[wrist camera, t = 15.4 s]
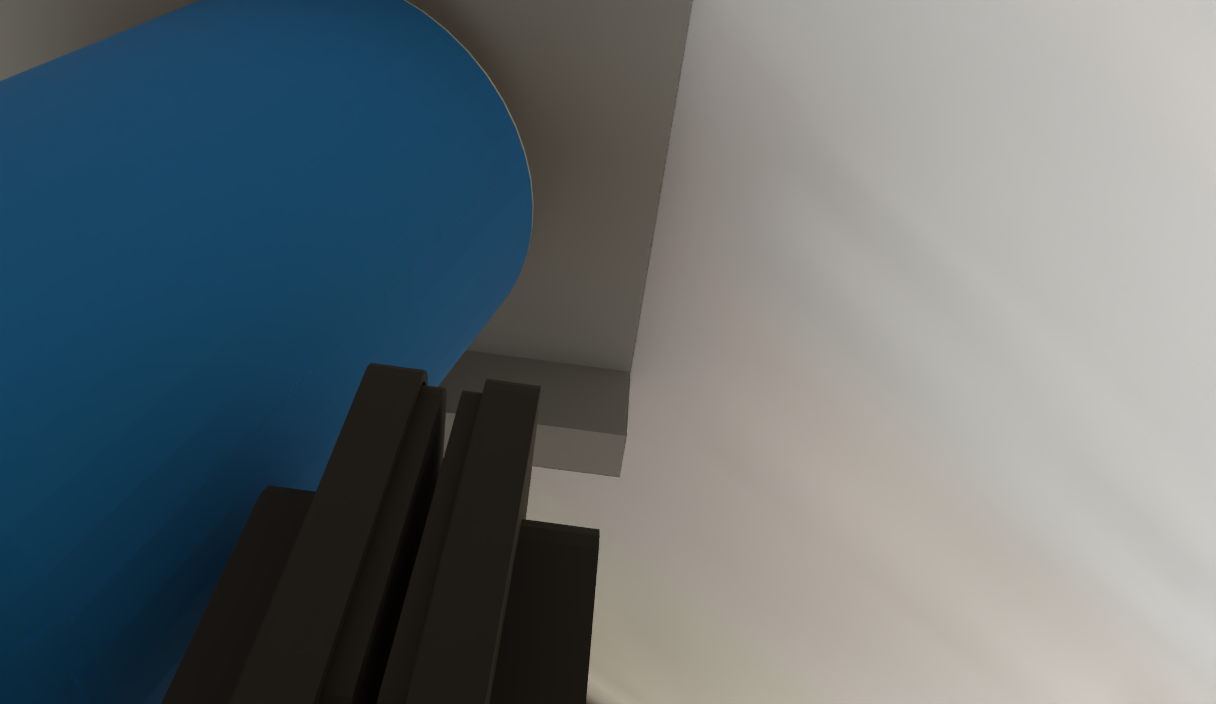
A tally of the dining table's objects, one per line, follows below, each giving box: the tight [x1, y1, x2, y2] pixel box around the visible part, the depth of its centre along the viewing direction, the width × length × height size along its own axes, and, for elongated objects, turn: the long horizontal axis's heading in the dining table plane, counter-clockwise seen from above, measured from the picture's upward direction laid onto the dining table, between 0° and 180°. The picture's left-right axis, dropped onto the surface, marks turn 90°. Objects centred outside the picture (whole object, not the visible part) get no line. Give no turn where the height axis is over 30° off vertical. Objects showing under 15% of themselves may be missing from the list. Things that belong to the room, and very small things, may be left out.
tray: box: [0, 0, 693, 477], centre depth 18 cm, size 11×22×3 cm, turn 83°
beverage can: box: [0, 0, 533, 704], centre depth 13 cm, size 6×6×12 cm
